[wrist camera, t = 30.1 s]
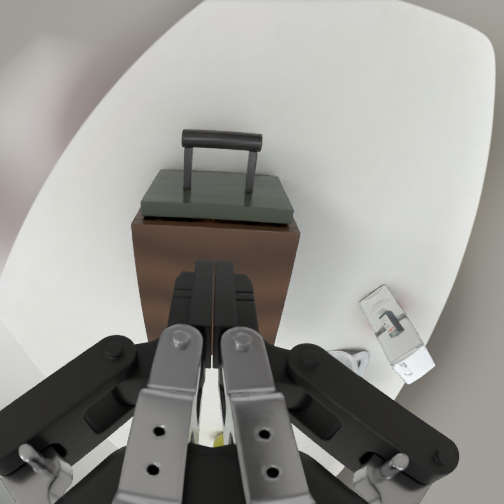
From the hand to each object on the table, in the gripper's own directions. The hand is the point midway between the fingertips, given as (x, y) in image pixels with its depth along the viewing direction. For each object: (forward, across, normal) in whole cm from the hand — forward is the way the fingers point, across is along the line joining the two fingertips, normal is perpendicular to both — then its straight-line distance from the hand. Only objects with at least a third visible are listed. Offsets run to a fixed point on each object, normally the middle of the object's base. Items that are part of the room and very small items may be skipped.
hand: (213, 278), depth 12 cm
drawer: (+18, 0, +6) cm, 19 cm away
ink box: (+19, -25, +19) cm, 37 cm away
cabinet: (+19, 0, +10) cm, 22 cm away
